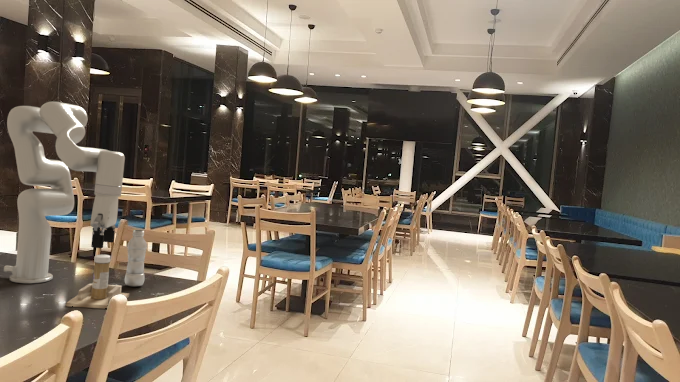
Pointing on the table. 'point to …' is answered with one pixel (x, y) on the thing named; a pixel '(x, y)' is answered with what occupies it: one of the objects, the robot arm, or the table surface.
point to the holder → (86, 301)
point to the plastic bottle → (136, 259)
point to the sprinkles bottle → (100, 276)
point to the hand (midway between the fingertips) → (102, 244)
